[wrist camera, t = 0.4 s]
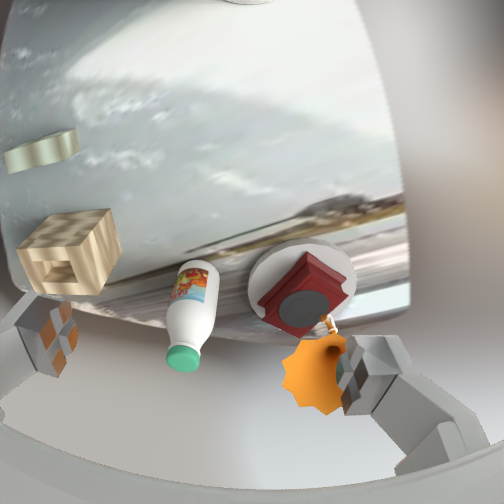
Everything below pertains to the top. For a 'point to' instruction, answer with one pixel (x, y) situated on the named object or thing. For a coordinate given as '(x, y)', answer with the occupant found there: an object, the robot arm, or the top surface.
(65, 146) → the rail end
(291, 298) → the gramophone
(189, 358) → the milk bottle
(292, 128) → the top surface
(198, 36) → the top surface
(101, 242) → the wooden square frame
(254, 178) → the top surface
